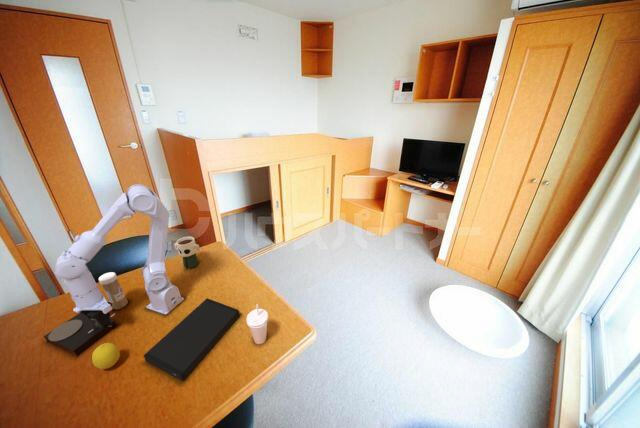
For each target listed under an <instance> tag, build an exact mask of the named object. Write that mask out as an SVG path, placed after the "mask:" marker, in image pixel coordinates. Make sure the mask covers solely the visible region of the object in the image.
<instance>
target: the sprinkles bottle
mask: <svg viewBox="0 0 640 428" xmlns="http://www.w3.org/2000/svg"><path fill="white" fill-rule="evenodd" d="M98 282H99V284H100V285H101V287H102V289H103V291H104V294H105V295H106V298H107V300H108V302H110V303H112V310H120V309H123V308H124V307H126V306H127V305H128V303H129V302H128V301H129V300H128V299H127V297H126V294H125V292H124V290H123V287H122V286H121V284H120V282H119V280H118V276H117V274H116V272H113V271H110V272H105V273H103V274H102V275H100V276H99V277H98Z"/></svg>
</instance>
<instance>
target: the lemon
mask: <svg viewBox="0 0 640 428" xmlns="http://www.w3.org/2000/svg"><path fill="white" fill-rule="evenodd" d="M120 357H121V351H120V349H119V347H118V346H117V345H116V344H114V343H113V342H105V343H102V344H100V345H99V346H97V347H96V348H95V349H94V351H93V352H92V354H91V362H92V365H94V367H95V368H97V369H99V370H107V369H109V368H112V367H113V366H114V365H115V364H116V363H117V362H118V361H119V359H120Z"/></svg>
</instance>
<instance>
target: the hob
mask: <svg viewBox="0 0 640 428" xmlns="http://www.w3.org/2000/svg"><path fill="white" fill-rule="evenodd" d="M115 315H116V313H113V314H111V315H110V322H109V323H108V324H107V325H105V326H104V327H100V328H96V327H95V326H94V324H93V322H92V321H91V320H89V319H88V318H87V317H86V316H85V315H83V314H82V313H80V312H78V313H77V314H76V315H74V316H73V317H71V318H70V319H68V320H66V322H68V321H71V320H81V321H82V323H83V325H82V327H81V328H80V330H79V331H77V332H76V333H75V334H73V335H72V336H70V337H68V338H66V339H64V340H61V341H56V342H52V341H50V340H49V339H48V336H49V334H50V333H51V332H52V331H53V330H54V329H52V330H51V331H50V332H48V333H46V334H44V335H43V338H44V339H45V340H46V342H47V343H49V344H51V345H53V346H55V347H58V348H59V349H61V350H64V351H65V352H68V353H70V354H72V355H73V356H76V357H78V356H80V355H81V354H82V353H83V352H85V351H86V350H88V349H89V348H90V347H91V346H92V345H94V344H95V343H97V342H98V341H99V340H101V339H102V338H103V337H105V336H106V335H107V334H108V333H110V332H111V331H112V330H114V329H115V328H116V327H117V326H118V325H117V323H116V321H115V320H114V319H112V317H114V316H115Z"/></svg>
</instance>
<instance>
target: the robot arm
mask: <svg viewBox="0 0 640 428" xmlns="http://www.w3.org/2000/svg"><path fill="white" fill-rule="evenodd" d="M136 212H138V213H140V214H144V215H146V216H148V217H149V218H150V223H149V237H148V247H147V258H146V260H145V264H144V266H143V267H142V269H141V275H142V276H143V280H144V289H145V292H146V294H147V297H148V299H149V304H148V305H146V306H145V307H146V309H148V310H150V311H154V312H156V313H159V314H162V315H168V314H169V313H170V312H171V311H173V310H174V309H175V308H176V307H178V305H179V304H181V303H182V302H183V301H184V300H185V298H184V297H183V296H182V295H181V292H180V289H179V287H178V286H176V285H174V283H173V284H172V282H171V281H170V279H169V277H168V276H167V270H166V262H165V261H166V260H165V259H166V250H167V243H168V231H169V223H170V222H169V220H170V212H169V210H168V208H167V207H166V206H165V205H164V203H163V202H162V200H161V199H160V198H159V196H158V195H157V194H156V193H155V191H153V190H152V189H151V188H150V187H148V186H146V185H145V184H141V183H140V184H138V183H136V184H133V185H131V186H129V187H128V188H127V190H126V192H123V193H122V194H120V196H118V198H117V199H116V200H115V202H113V204H112V205H111V206H110V208H109V209H108V210H107V211H106V212H105V214H104V215H103V216H102V218H101V219H100V220H99V221H98V223H97V224H96V225H95V226H94V228H93V229H91V230H86V231H83V232H82V233H81V234H77V235H76V236H75V237H74V239H73V240H74V242H73V243H72V244H71V245H70V246H69V247H68V249H67V250H63V251H62V252H61V255H59V257H57V259H56V262H55V267H54V273H55V275H56V277H58V278H59V279H62V281H63V284H64V285H65V287H66V289H67V291H68V292H69V294H70V296H71V297H70V298H71V300H72V301H73V302H74V303H75V307H73V309H72V311H73V312H74V313H77V314H79V313H82V314H83V315H85V316H86V317H87V318H88V319H89V320H91V317H92V318H94V319H95V320H96V321H97V322H98V323H99V324H100V325H101V326H103V327H104V326H105V325H107V324H108V323H109V322H110V319H111V317H110V316H111V311H112V310H113V308H112V303H110V302H109V301H108V300H107V299H106V297H105V296H104V294H103V293H102V292H101V290H100V288H99V285H98V284H97V282H96V280H95V278H94V276H93V274H92V272H91V271H90V269H89V268H88V265H87V264H88V263H89V262H91V260H92V259H93V258H94V257H95V256H96V255H97V254H98V252H100V251H101V249H102V248H103V247H104V246H105V244H106V243H107V239H106V236H107V235H108V234H109V233H110V232H111V231H112V230H113V229H114V227H116V226H117V224H119V222H120V221H122V219H123V218H124V217H128V216H135V215H136V214H137V213H136ZM91 321H92V320H91Z"/></svg>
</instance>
